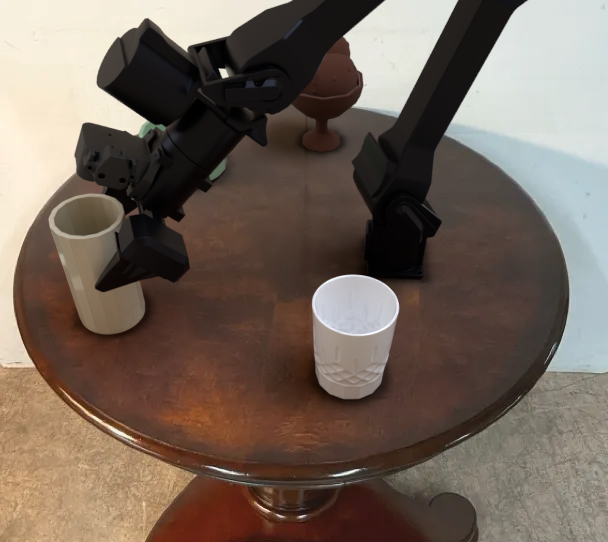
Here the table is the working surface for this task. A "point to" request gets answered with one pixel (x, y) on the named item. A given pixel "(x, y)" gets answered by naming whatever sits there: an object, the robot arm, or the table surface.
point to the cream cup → (94, 261)
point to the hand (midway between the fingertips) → (94, 259)
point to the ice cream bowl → (330, 96)
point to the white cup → (352, 334)
